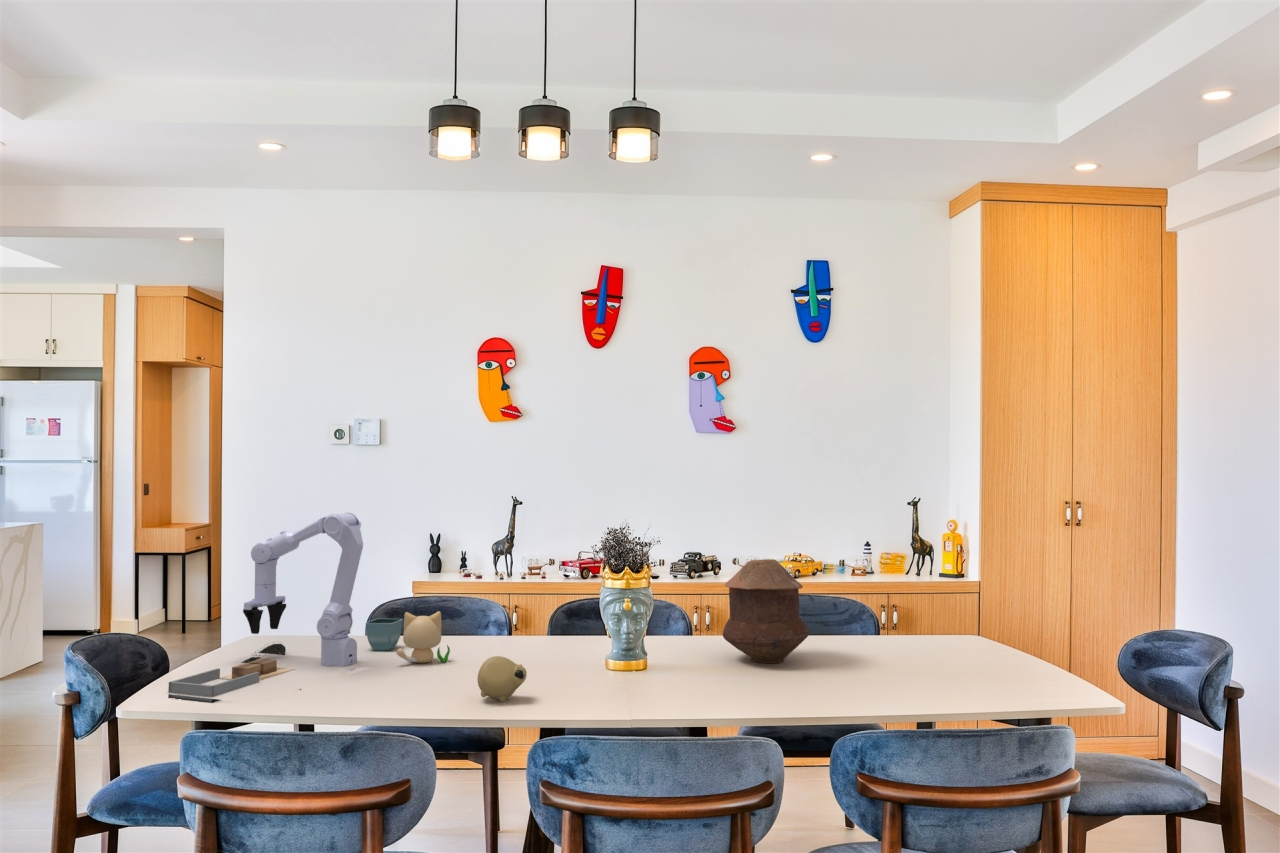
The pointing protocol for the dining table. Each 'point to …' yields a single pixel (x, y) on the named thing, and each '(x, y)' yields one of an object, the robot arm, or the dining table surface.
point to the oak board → (262, 677)
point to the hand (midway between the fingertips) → (264, 631)
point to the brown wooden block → (266, 665)
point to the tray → (195, 687)
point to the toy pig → (500, 677)
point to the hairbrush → (269, 651)
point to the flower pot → (383, 633)
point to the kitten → (422, 637)
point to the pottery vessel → (764, 612)
